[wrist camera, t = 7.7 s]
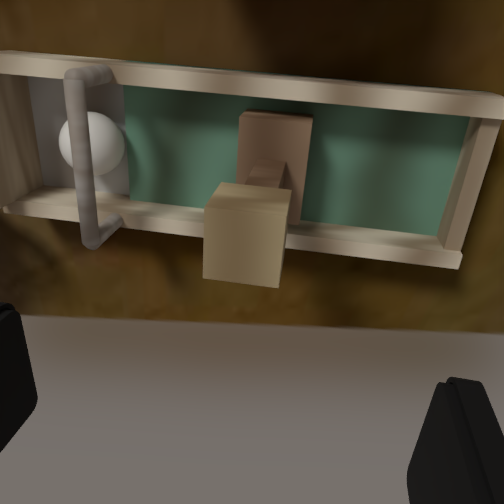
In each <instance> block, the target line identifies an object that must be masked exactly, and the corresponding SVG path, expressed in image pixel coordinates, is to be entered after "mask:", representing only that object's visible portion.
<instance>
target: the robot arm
mask: <svg viewBox="0 0 504 504" xmlns="http://www.w3.org/2000/svg"><path fill="white" fill-rule="evenodd" d="M37 399H38V397H37V391H36V387H35V382H34V377H33V372H32V368H31V363H30V359H29V354H28V349H27V344H26V340H25V335H24V330H23V326H22V321H21V316H20V314H19V313H18V312H17V311H15V308H14V306H13V305H12V304H9V303H4V302H0V452H1V451H2V450H3V449H4V447H5V446H6V445H7V444H8V442H9V441H10V440H11V438H12V437H13V436H14V435H15V434H16V432H17V431H18V430H19V429H20V427H21V426H22V425H23V424H24V422H25V421H26V420H27V419H28V417H29V416H30V415H31V413H32V412H33V411H34V409H35V407H36V404H37ZM407 488H408V495H409V501H410V504H504V436H503V433H502V431H501V428H500V426H499V423H498V421H497V418H496V416H495V413H494V411H493V408H492V406H491V403H490V401H489V398H488V396H487V394H486V391H485V389H484V387H483V385H482V383H481V382H479V381H473V380H468V379H462V378H456V377H449V378H448V379H447V382H446V383H441V382H439V383H438V384H437V386H436V389H435V391H434V394H433V397H432V400H431V403H430V406H429V409H428V412H427V415H426V417H425V421H424V423H423V426H422V429H421V432H420V435H419V438H418V440H417V444H416V446H415V449H414V452H413V455H412V458H411V461H410V464H409V466H408V471H407Z"/></svg>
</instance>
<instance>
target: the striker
mask: <svg viewBox="0 0 504 504" xmlns="http://www.w3.org/2000/svg"><path fill="white" fill-rule="evenodd" d="M312 121H313V114H303V113H292V112H282V111H271V110H261V109H250V108H247V109H246V110H245V111H244V112H243V113H242V114H241V115H240V116H239V133H238V151H237V170H236V184H234V183H225V182H221V183H220V185H219V186H218V187H217V189H216V190H215V192H214V193H213V195H212V196H211V198H210V199H209V201H208V202H207V204H206V205H205V207H204V244H203V278H206V279H213V280H221V281H228V282H235V283H243V284H250V285H258V286H265V287H273V288H279V282H280V277H281V271H282V265H283V260H284V254H285V245H286V236H287V228H288V224H292V225H299V224H300V216H301V208H302V200H303V192H304V185H305V177H306V169H307V161H308V153H309V145H310V137H311V129H312Z"/></svg>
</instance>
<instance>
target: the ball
mask: <svg viewBox="0 0 504 504" xmlns="http://www.w3.org/2000/svg"><path fill="white" fill-rule="evenodd" d="M87 113H88V123H89V133H90V143H91V154H92V164H93V174H94V175H102V174H106V173H108V172H110V171H112V170H113V169H114V168H115V167H117V165H118V164H119V163H120V161H121V160H122V157H123V155H124V150H125V143H124V137H123V135H122V132H121V130H120V129H119V127H118V126H117V124H116V123H115V122H114V121H113V120H111V119H110V118H108V117H107V116H105V115H103V114H100V113H97V112H87ZM59 147H60V151H61V154H62V156H63V158H64V159H65V161H66V162H67V163H68V164H69V165H70V166H71V167H72V168H73V162H72V153H71V145H70V136H69V128H68V120H67V121H66V122H65V124H64V125H63V127H62V129H61V131H60V134H59Z"/></svg>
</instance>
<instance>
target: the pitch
mask: <svg viewBox="0 0 504 504" xmlns="http://www.w3.org/2000/svg"><path fill="white" fill-rule="evenodd" d="M247 108H250V109H261V110H271V111H282V112H292V113H303V114H313V121H312V129H311V137H310V145H309V153H308V161H307V169H306V177H305V185H304V192H303V200H302V208H301V216H300V224H299V225H292V224H288V228H287V236H286V245H285V248H290V249H298V250H306V251H314V252H322V253H330V254H338V255H346V256H354V257H362V258H370V259H378V260H386V261H394V262H402V263H410V264H418V265H427V266H435V267H443V268H451V269H458V268H459V265H460V262H461V259H462V256H463V255H462V253H461V248H462V245H463V242H464V239H465V236H466V233H467V229H468V226H469V223H470V220H471V217H472V214H473V210H474V207H475V204H476V201H477V198H478V195H479V191H480V188H481V185H482V182H483V179H484V176H485V172H486V169H487V166H488V163H489V160H490V157H491V153H492V150H493V147H494V144H495V141H496V138H497V134H498V131H499V128H500V125H501V122H502V120H504V97H503V96H500V95H497V94H494V93H492V92H486V91H475V90H463V89H451V88H440V87H428V86H417V85H405V84H394V83H382V82H370V81H359V80H347V79H336V78H324V77H312V76H301V75H289V74H278V73H266V72H255V71H243V70H231V69H220V68H208V67H197V66H185V65H173V64H162V63H150V62H139V61H127V60H116V59H104V58H92V57H81V56H69V55H58V54H46V53H34V52H23V51H11V50H8V51H0V209H1V208H3V210H4V213H10V214H18V215H26V216H34V217H42V218H50V219H58V220H66V221H74V222H80V230H81V238H82V244H83V245H85V246H86V247H87V248H88V249H91V250H95V249H97V248H98V247H99V246H100V245H101V244H102V243H103V242H104V241H106V240H107V239H108V238H109V237H110V236H111V235H112V234H113V233H114V232H115V231H116V230H117V229H118V228H119V227H122V228H130V229H138V230H146V231H154V232H162V233H170V234H178V235H186V236H194V237H202V238H204V207H205V205H206V204H207V202H208V201H209V199H210V198H211V196H212V195H213V193H214V192H215V190H216V189H217V187H218V186H219V185H220V183H221V182H225V183H234V184H236V170H237V151H238V133H239V116H240V115H241V114H242V113H243V112H244V111H245V110H246V109H247ZM87 112H97V113H100V114H103V115H105V116H107V117H108V118H110V119H111V120H113V121H114V122H115V123H116V124H117V126H118V127H119V129H120V130H121V132H122V135H123V137H124V143H125V150H124V155H123V157H122V160H121V161H120V163H119V164H118V165H117V167H115V168H114V169H113V170H112V171H110V172H108V173H106V174H102V175H94V174H93V164H92V154H91V143H90V133H89V123H88V113H87ZM67 120H68V128H69V136H70V145H71V153H72V162H73V168H72V167H71V166H70V165H69V164H68V163H67V162H66V161H65V159H64V158H63V156H62V154H61V151H60V147H59V134H60V131H61V129H62V127H63V125H64V124H65V122H66V121H67Z"/></svg>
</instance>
